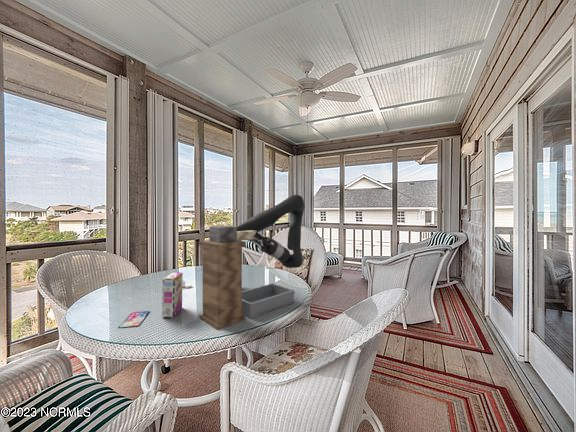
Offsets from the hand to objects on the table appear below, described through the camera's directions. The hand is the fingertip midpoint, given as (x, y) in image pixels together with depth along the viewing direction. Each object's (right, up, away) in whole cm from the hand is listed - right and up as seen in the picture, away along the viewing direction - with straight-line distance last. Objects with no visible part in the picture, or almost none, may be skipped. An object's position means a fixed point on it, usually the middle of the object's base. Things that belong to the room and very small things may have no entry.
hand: (248, 233), depth 116 cm
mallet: (-5, -3, -5) cm, 7 cm away
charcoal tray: (+5, -34, +7) cm, 36 cm away
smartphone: (-45, -35, -9) cm, 58 cm away
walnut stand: (-10, -35, -8) cm, 37 cm away
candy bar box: (-33, -35, -3) cm, 47 cm away
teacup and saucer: (-42, -34, +30) cm, 61 cm away
